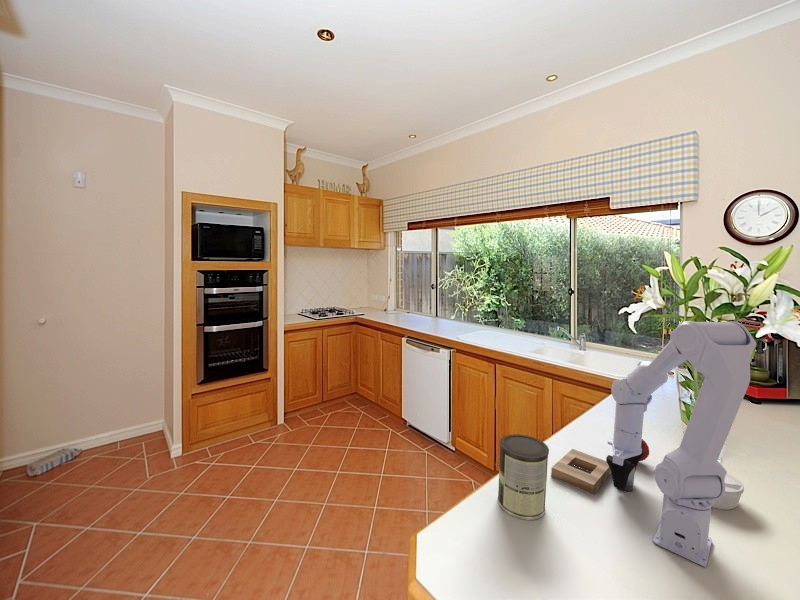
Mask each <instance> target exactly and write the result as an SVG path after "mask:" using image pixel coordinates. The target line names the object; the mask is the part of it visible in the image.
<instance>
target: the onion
mask: <svg viewBox="0 0 800 600" xmlns="http://www.w3.org/2000/svg"><path fill="white" fill-rule="evenodd" d="M641 449H643V450H645V453H644V454H643V456H642V457H641V458H640V460H639V462H642V461H645V460H646V459H647V458H648V457H649V455H650V447H649V445H648V444H647V442H646V441H645V440H644V439H643V438H642V442H641Z"/></svg>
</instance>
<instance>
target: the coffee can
mask: <svg viewBox="0 0 800 600" xmlns="http://www.w3.org/2000/svg"><path fill="white" fill-rule="evenodd" d="M549 452H550V448H549V446H548V445H547V444H546V443H545V442H544V441H542V440H540V439H538V438H537V437H533V436H530V435H525V434H519V433H518V434H514V433H513V434H507V435H505V436H503V437H501V438H500V439H499V470H498V472H499V473H498V492H497V494H498V495H497V504H498V505H499V507H500V508H501V510H503V511H504V512H505V513H506V514H508V515H509V516H512V517H514V518H516V519H520V520H524V521H525V520H526V521H532V520H537V519H540V518H542V517H543V516H544V515H545V513H546V495H547V481H548V480H547V479H548V478H547V477H548V464H549V463H548V461H549V460H548V459H549Z"/></svg>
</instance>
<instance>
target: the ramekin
mask: <svg viewBox="0 0 800 600" xmlns="http://www.w3.org/2000/svg"><path fill="white" fill-rule="evenodd" d="M744 490H745V487H744V484H743V483H742V481H740V480H739V479H737V478H736V477H735V476H733V475H731V474H729V472H727V473H726V476H725V493H724V495H723V496H722V497H721V498H716V500H715V504H714V505H712V506H711V508H714V509H716V510H717V509H718V510H725V511H726V510H733V509H735V508H736V507H738V505H739V502H740V499H741V497H742V495H743V493H744Z"/></svg>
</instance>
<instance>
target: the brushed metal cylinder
mask: <svg viewBox="0 0 800 600" xmlns="http://www.w3.org/2000/svg"><path fill="white" fill-rule="evenodd" d="M627 463H629V464H631V465H634V464H632V463H631V462H629V461H627ZM634 466H635V465H634ZM634 473H635V474H636V471H635V467H634V469H633V470H632V471H631V473H630V475H629V477H628V481H627V485H626V488H625V489H624V491H623V490H621V489H618V488H616V490H618V491H621V492H624V493H632V492H634V485H635V484H634V483H635V474H634Z"/></svg>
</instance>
